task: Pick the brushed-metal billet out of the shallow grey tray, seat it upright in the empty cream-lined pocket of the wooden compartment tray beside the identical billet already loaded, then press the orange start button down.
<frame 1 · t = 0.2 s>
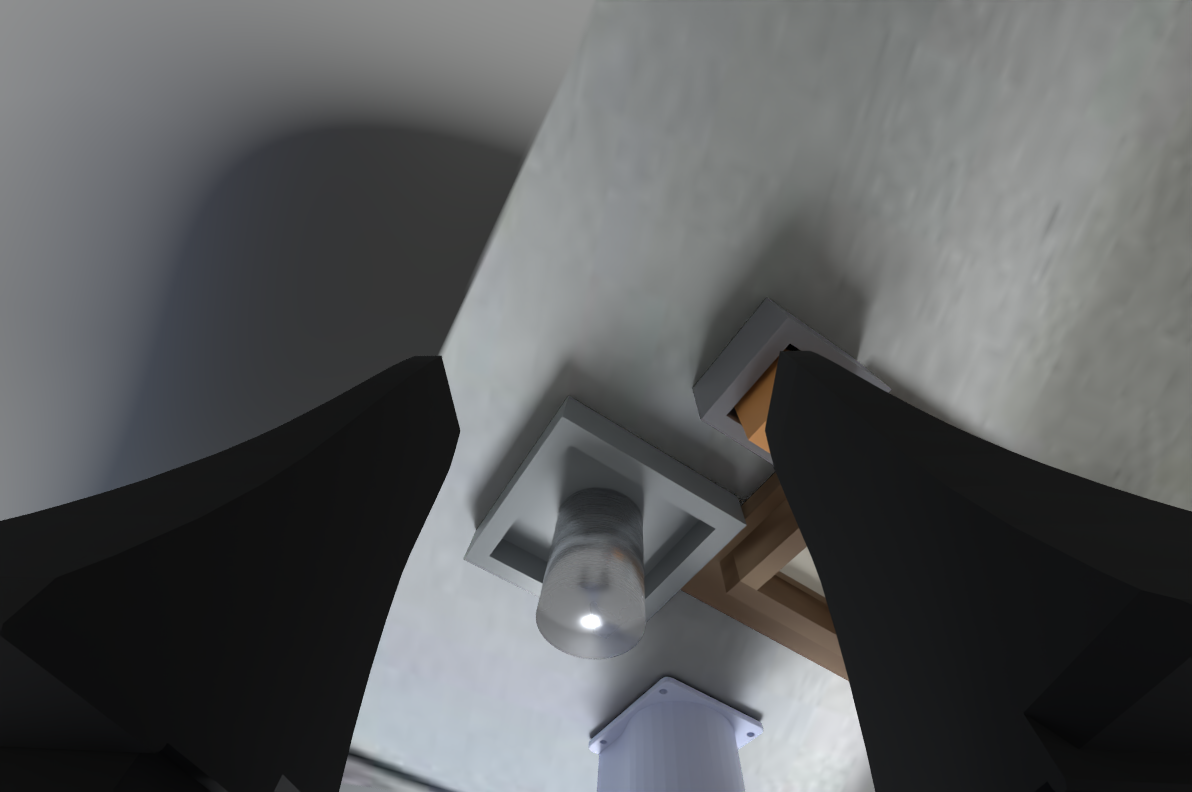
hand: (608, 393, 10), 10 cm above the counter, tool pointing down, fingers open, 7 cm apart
billet: (600, 522, 24), point 1 cm above the counter, touching shallow grey tray
wooden compartment tray: (912, 582, 25), on the counter
start button: (797, 410, 18), point 3 cm above the counter, slide at 0.0 cm
button housing: (772, 375, 21), on the counter
shallow grey tray: (600, 514, 25), on the counter
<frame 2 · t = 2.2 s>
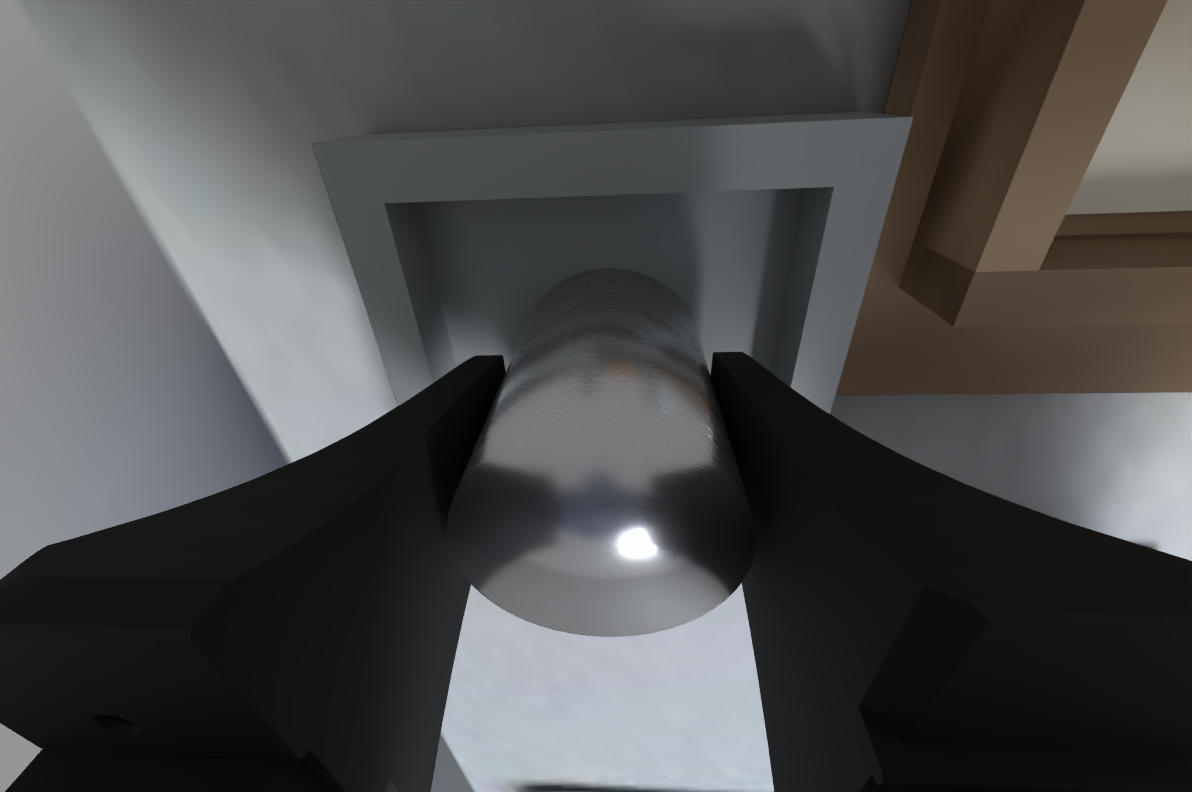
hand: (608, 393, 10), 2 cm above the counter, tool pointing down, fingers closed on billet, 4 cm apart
billet: (610, 354, 12), point 1 cm above the counter, touching gripper, shallow grey tray
shallow grey tray: (610, 343, 12), on the counter
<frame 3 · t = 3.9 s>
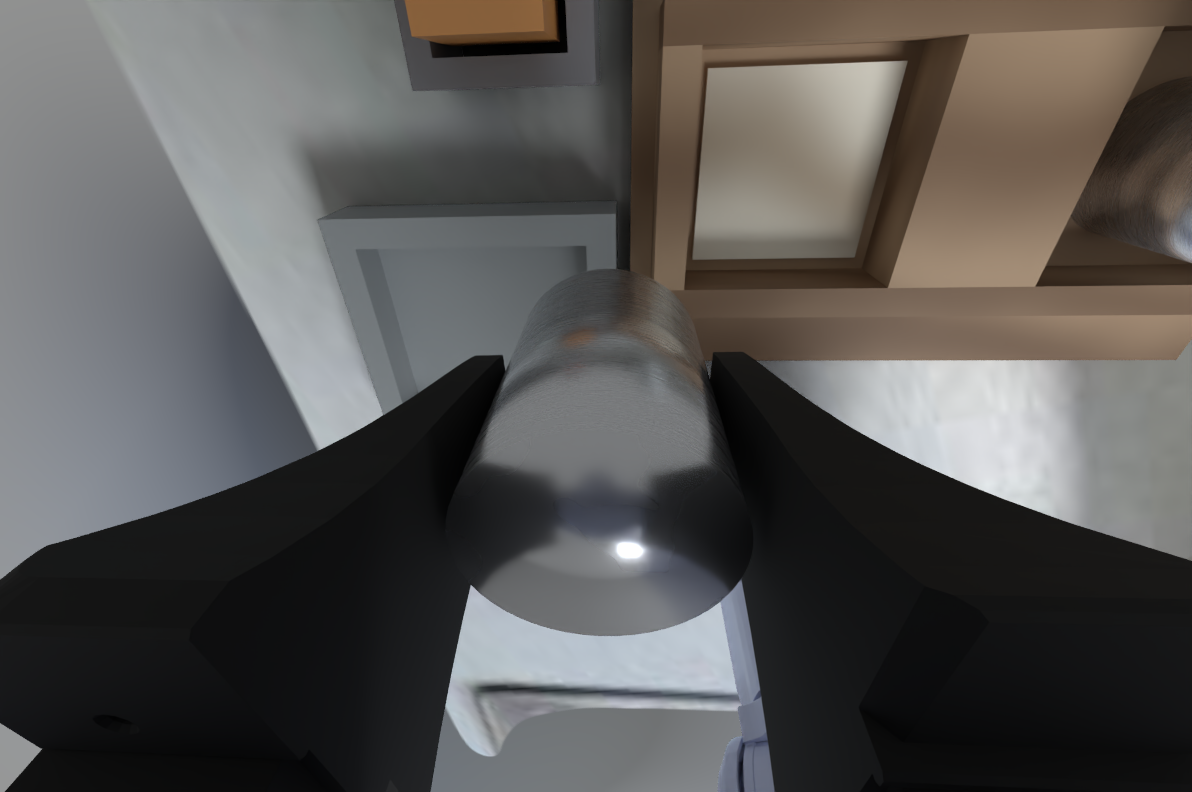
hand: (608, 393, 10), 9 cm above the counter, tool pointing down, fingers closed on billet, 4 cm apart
billet: (608, 354, 12), point 8 cm above the counter, touching gripper
wooden compartment tray: (945, 161, 16), on the counter
shallow grey tray: (499, 328, 20), on the counter
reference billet: (1148, 161, 15), point 1 cm above the counter, touching wooden compartment tray
when the fingers open (4 cm above the counter, at t = 5.9 s): billet stays where it is, resting on wooden compartment tray.
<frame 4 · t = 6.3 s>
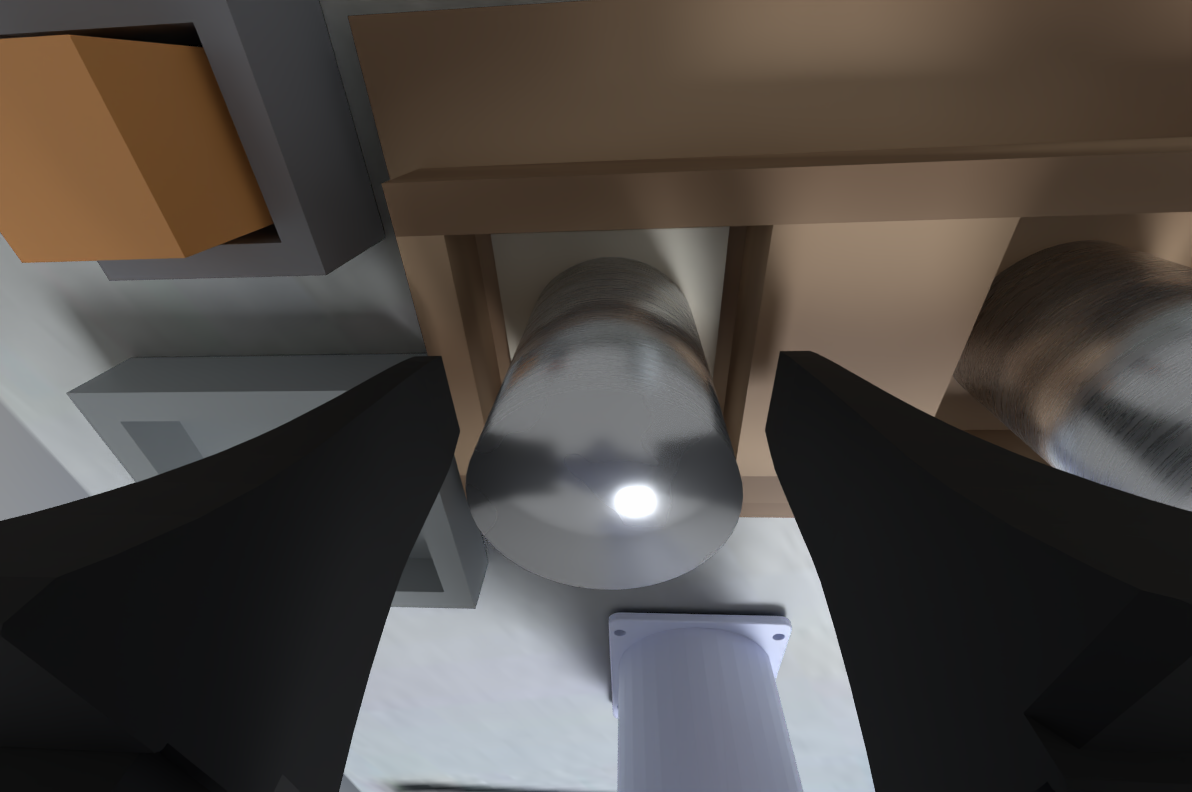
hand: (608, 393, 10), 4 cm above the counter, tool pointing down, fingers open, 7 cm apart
billet: (611, 339, 13), point 1 cm above the counter, touching wooden compartment tray
wooden compartment tray: (808, 316, 13), on the counter
start button: (128, 152, 8), point 3 cm above the counter, slide at 0.0 cm
button housing: (256, 135, 11), on the counter
shallow grey tray: (334, 474, 18), on the counter
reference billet: (1042, 328, 12), point 1 cm above the counter, touching wooden compartment tray
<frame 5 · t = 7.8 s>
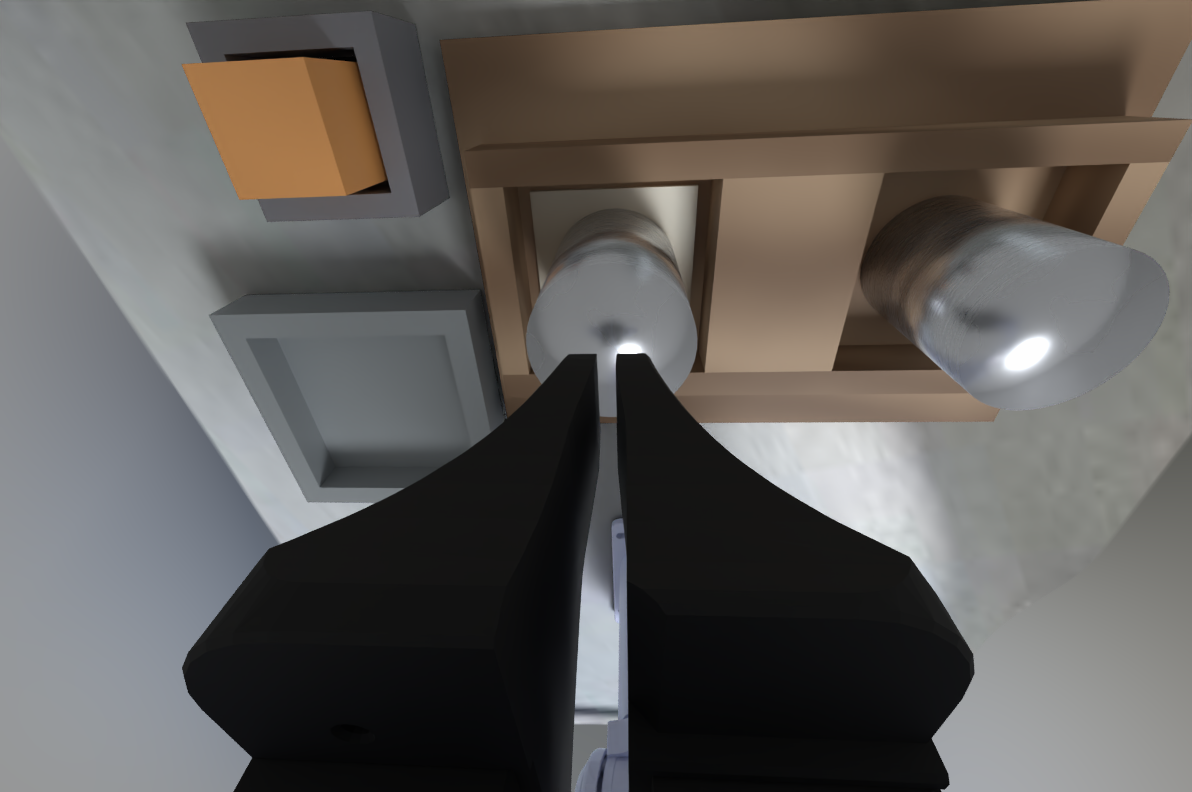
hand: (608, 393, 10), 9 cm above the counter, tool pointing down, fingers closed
billet: (615, 271, 17), point 1 cm above the counter, touching wooden compartment tray
wooden compartment tray: (760, 257, 18), on the counter
start button: (303, 129, 13), point 3 cm above the counter, slide at 0.0 cm
button housing: (361, 121, 16), on the counter
shallow grey tray: (394, 394, 22), on the counter
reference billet: (927, 261, 17), point 1 cm above the counter, touching wooden compartment tray
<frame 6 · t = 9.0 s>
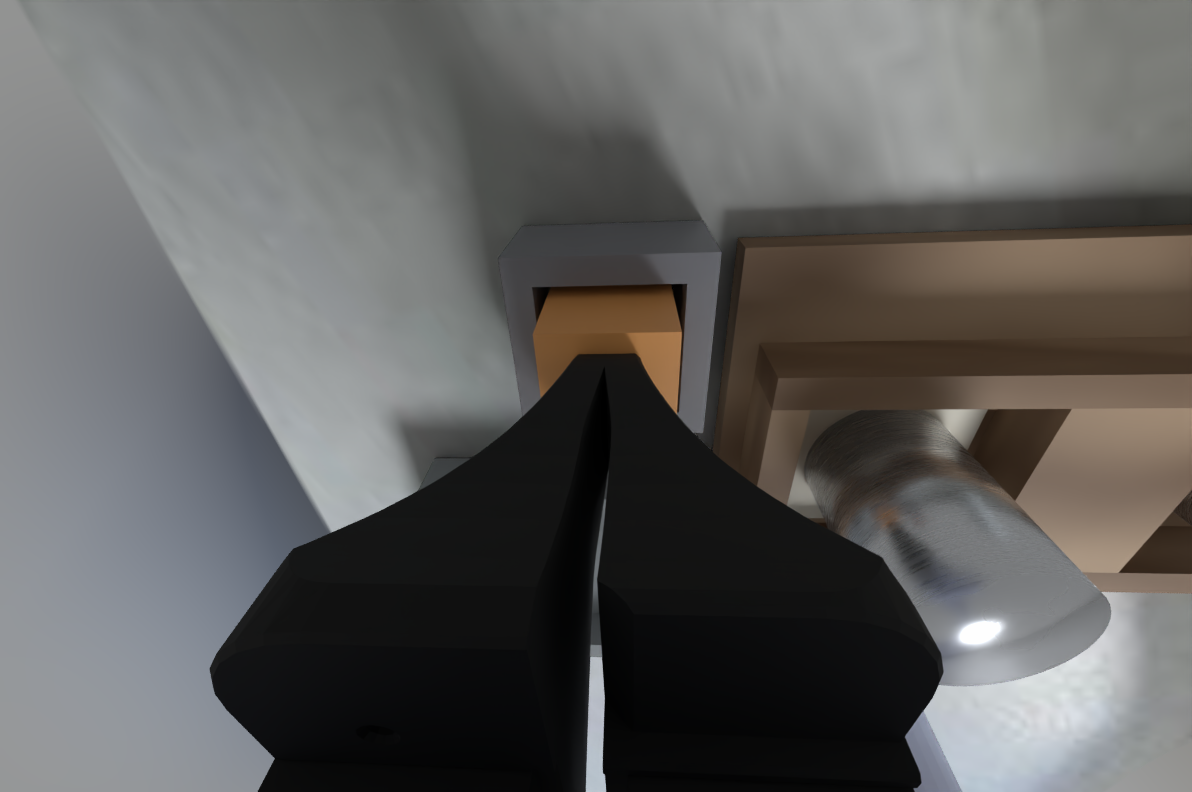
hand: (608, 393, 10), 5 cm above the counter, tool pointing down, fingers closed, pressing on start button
billet: (873, 459, 16), point 1 cm above the counter, touching wooden compartment tray
wooden compartment tray: (1024, 436, 16), on the counter
start button: (610, 362, 12), point 3 cm above the counter, slide at 0.1 cm, touching gripper
button housing: (613, 308, 14), on the counter
shallow grey tray: (573, 546, 20), on the counter
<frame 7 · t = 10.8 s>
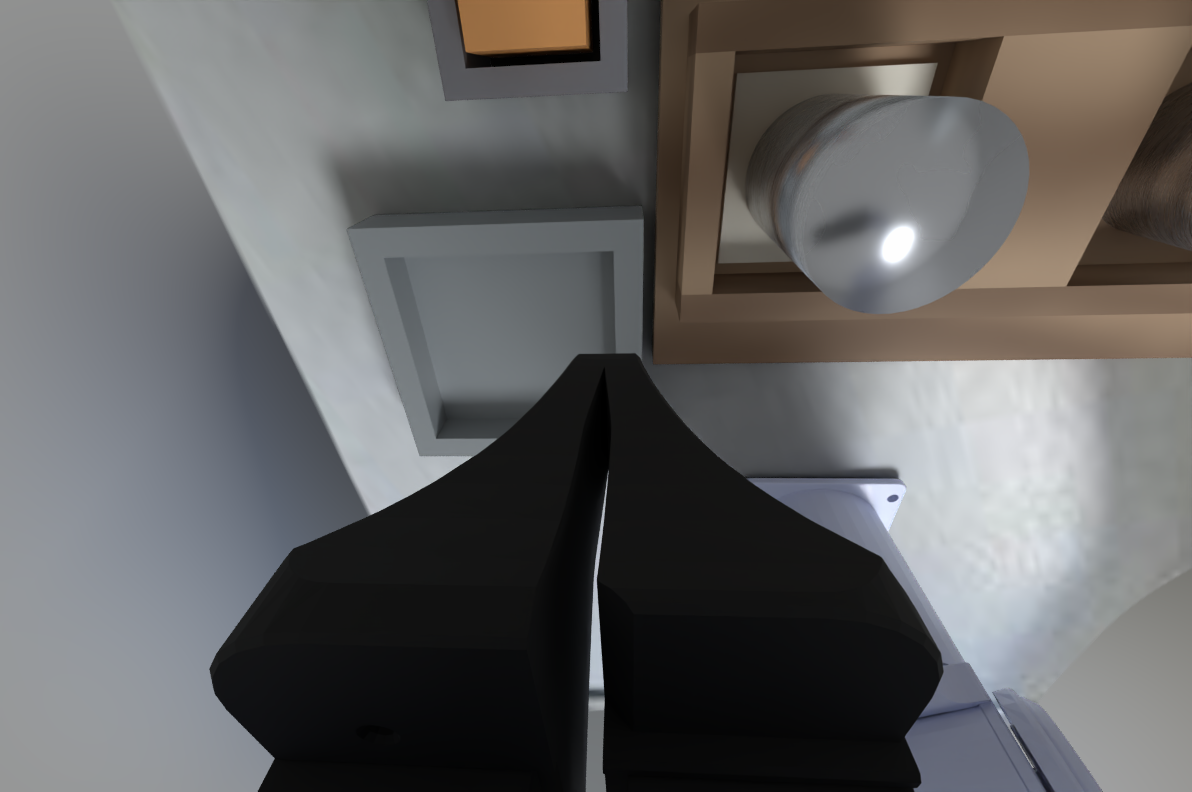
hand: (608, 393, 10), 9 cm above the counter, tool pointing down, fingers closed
billet: (815, 175, 15), point 1 cm above the counter, touching wooden compartment tray
wooden compartment tray: (972, 162, 16), on the counter
shallow grey tray: (522, 333, 20), on the counter
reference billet: (1180, 159, 15), point 1 cm above the counter, touching wooden compartment tray
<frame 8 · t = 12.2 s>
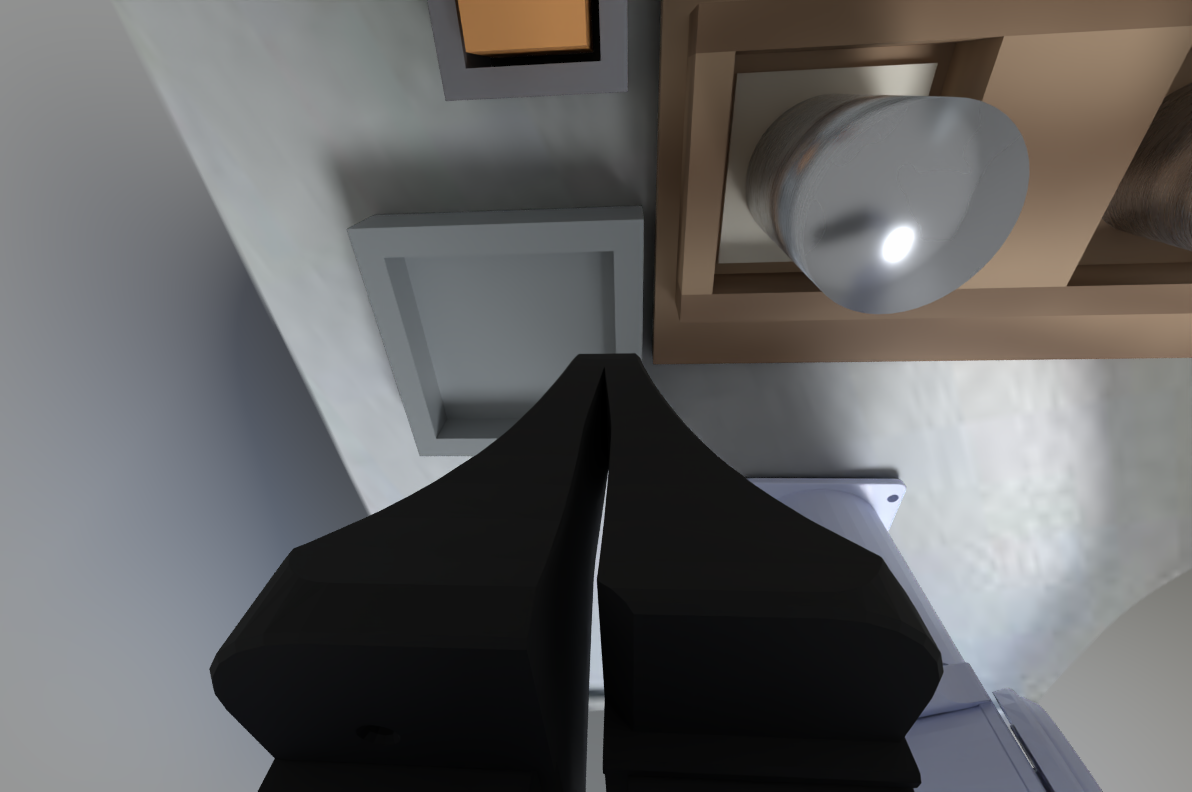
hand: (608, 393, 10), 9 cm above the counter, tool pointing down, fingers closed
billet: (815, 175, 15), point 1 cm above the counter, touching wooden compartment tray
wooden compartment tray: (972, 162, 16), on the counter
shallow grey tray: (522, 333, 20), on the counter
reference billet: (1180, 159, 15), point 1 cm above the counter, touching wooden compartment tray
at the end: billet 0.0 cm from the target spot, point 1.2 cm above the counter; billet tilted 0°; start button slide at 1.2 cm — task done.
